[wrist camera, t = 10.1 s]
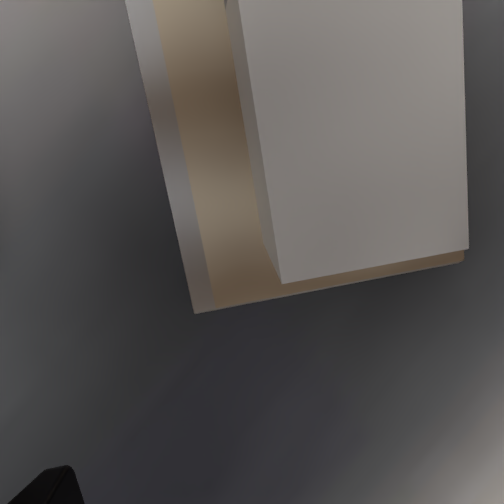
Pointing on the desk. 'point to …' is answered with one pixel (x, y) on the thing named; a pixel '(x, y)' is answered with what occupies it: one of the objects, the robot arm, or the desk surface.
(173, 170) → the stand
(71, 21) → the desk surface
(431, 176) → the block
